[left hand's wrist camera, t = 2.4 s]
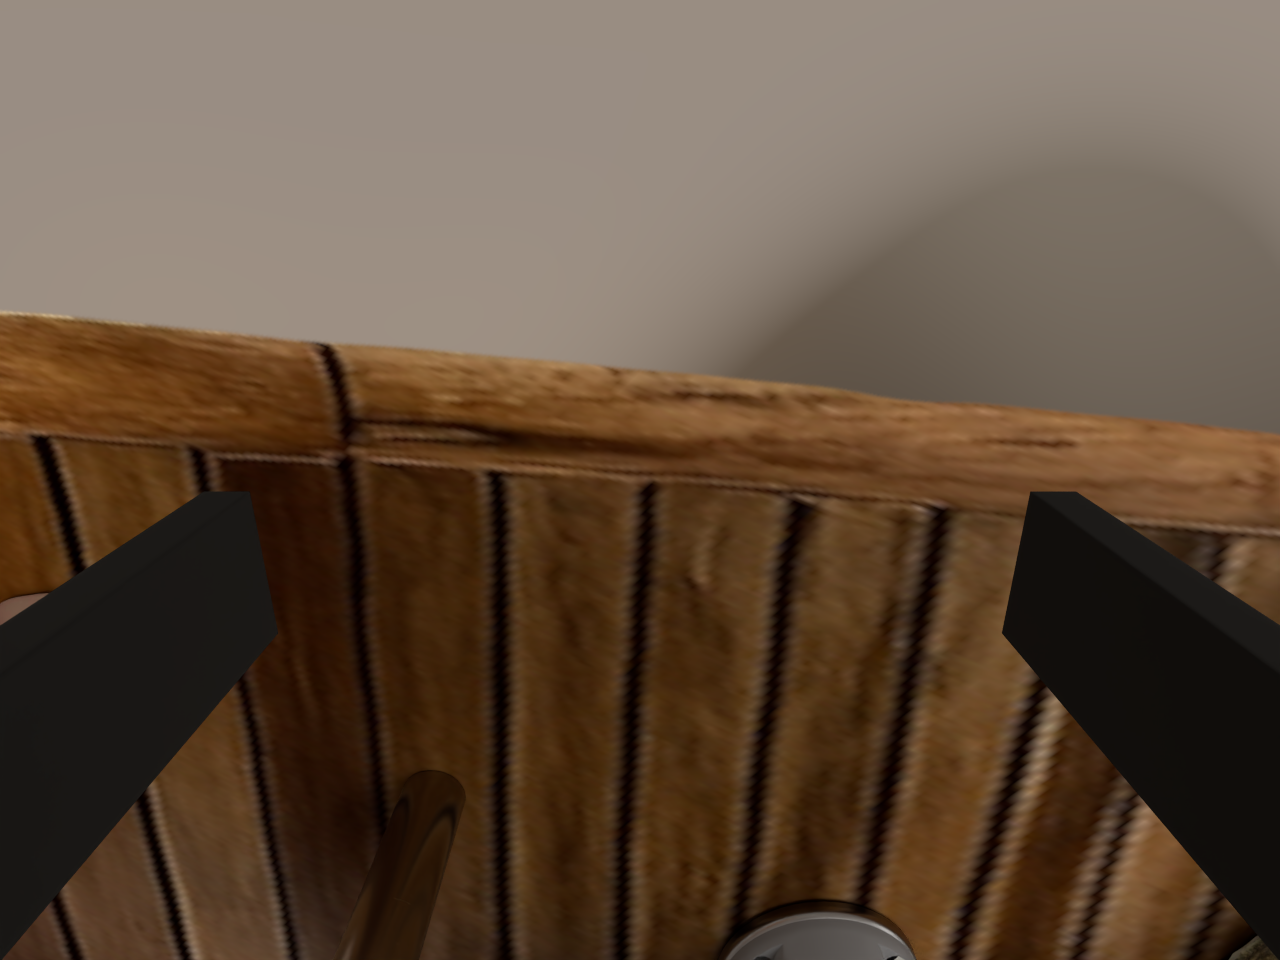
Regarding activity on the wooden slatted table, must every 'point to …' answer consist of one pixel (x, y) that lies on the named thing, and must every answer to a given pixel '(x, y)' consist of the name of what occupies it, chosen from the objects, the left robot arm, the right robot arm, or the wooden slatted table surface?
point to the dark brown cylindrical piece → (406, 872)
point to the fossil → (1254, 951)
